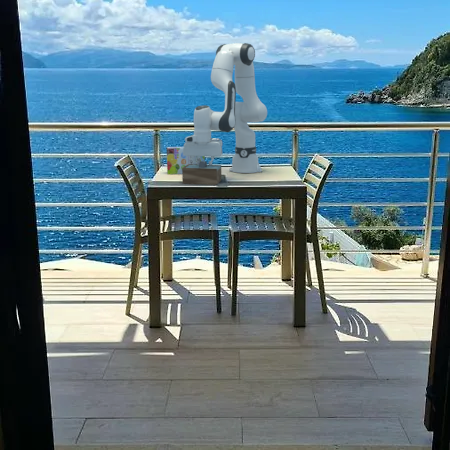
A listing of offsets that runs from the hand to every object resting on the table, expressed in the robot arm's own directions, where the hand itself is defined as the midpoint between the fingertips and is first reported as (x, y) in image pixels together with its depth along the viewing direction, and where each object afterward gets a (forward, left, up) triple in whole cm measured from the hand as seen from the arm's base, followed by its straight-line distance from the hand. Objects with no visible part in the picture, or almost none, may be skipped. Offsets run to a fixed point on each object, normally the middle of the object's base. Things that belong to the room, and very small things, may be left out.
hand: (202, 164), depth 302 cm
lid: (0, 0, -2) cm, 2 cm away
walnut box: (0, 0, -9) cm, 9 cm away
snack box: (-24, -15, -9) cm, 30 cm away
